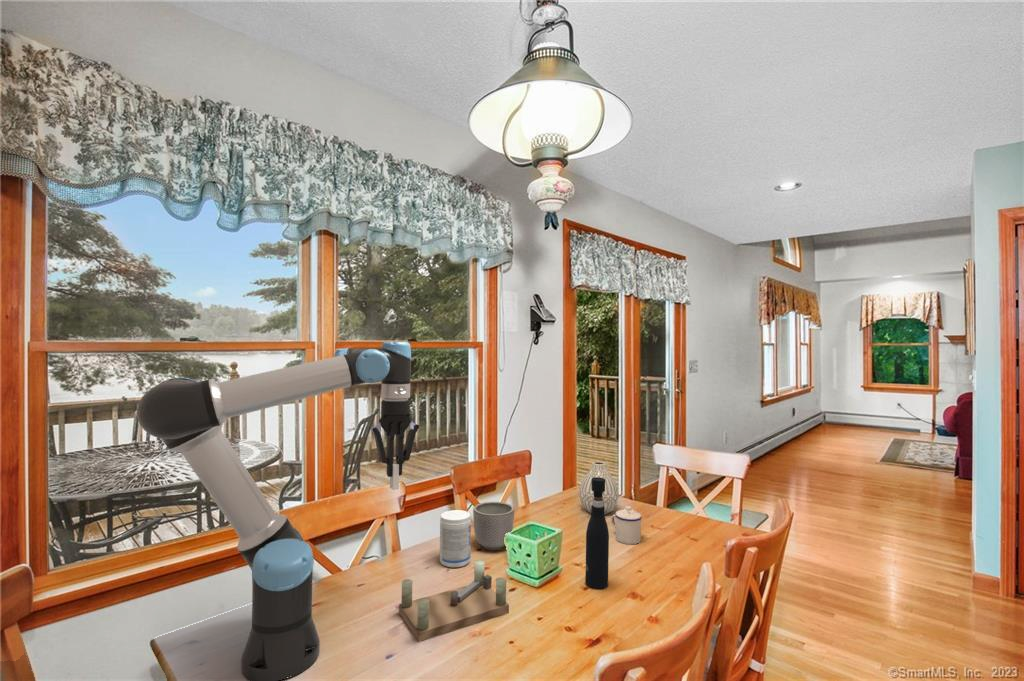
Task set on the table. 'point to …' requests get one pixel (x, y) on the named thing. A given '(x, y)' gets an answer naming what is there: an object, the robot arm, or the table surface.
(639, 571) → the table surface
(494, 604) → the wooden peg board
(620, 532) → the teacup with lid
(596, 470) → the vase
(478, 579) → the hinged leg
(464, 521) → the supplement tub
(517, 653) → the table surface
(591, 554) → the wine bottle
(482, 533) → the planter
